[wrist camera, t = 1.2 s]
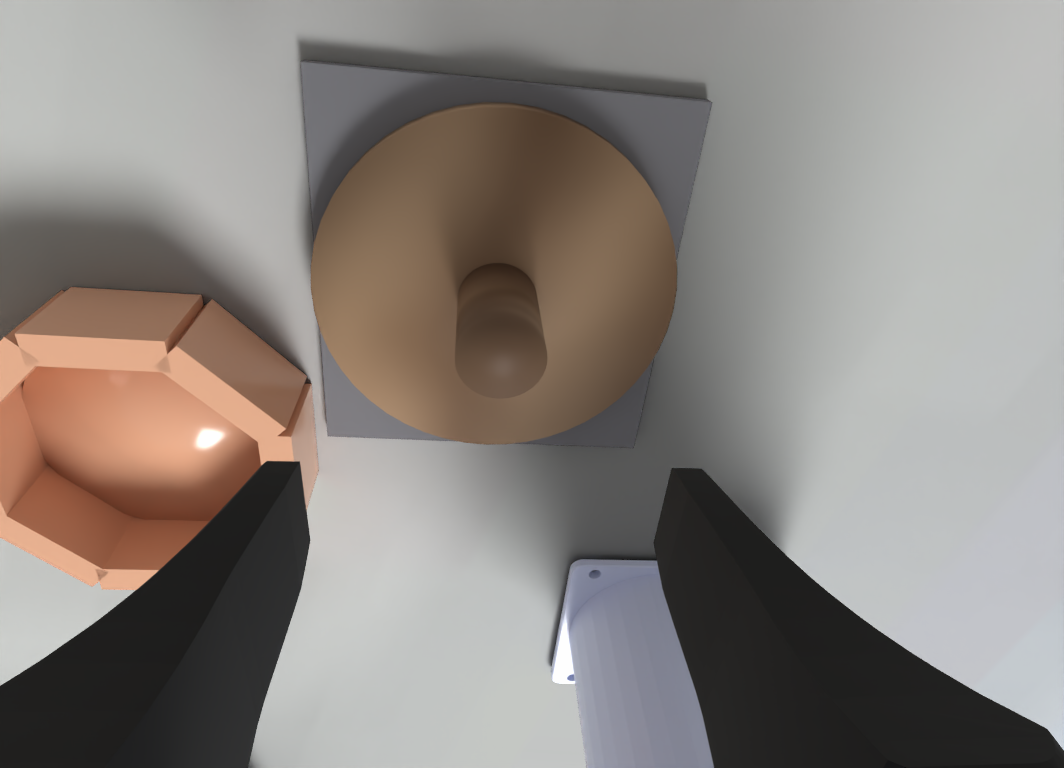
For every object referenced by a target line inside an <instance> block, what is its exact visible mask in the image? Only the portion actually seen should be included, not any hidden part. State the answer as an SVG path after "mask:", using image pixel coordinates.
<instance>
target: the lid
mask: <svg viewBox="0 0 1064 768" xmlns="http://www.w3.org/2000/svg"><path fill="white" fill-rule="evenodd" d="M676 291H677V263H676V255H675V246H674V242H673V239H672V235H671V231H670V228H669V224H668V222H667V219H666V217H665V215H664V212H663V210H662V208H661V205H660V203H659V201H658V200H657V198H656V197H655V195H654V193H653V192H652V190H651V188H650V187H649V185H648V184H647V182H646V181H645V179H644V178H643V177H642V175H641V174H640V173H639V172H638V171H637V169H636V168H635V167H634V166H633V165H632V163H631V162H630V161H629V160H628V159H627V157H626V156H625V155H624V154H622V153H621V152H620V151H619V150H618V149H617V148H616V147H615V146H613V145H612V144H611V143H610V142H609V141H608V140H607V139H605V138H604V137H602V136H601V135H599V134H597V133H596V132H594V131H593V130H591V129H590V128H588V127H587V126H585V125H583V124H581V123H579V122H577V121H575V120H573V119H570V118H568V117H566V116H564V115H562V114H558V113H555V112H552V111H549V110H546V109H542V108H539V107H534V106H528V105H522V104H516V103H501V102H482V103H473V104H464V105H457V106H453V107H450V108H446V109H442V110H438V111H434V112H431V113H429V114H426V115H424V116H422V117H419V118H417V119H415V120H412V121H410V122H408V123H406V124H404V125H403V126H401V127H399V128H398V129H396V130H394V131H393V132H391V133H389V134H388V135H386V136H385V137H384V138H382V139H381V140H380V141H379V142H378V143H376V144H375V145H374V146H373V147H371V148H370V149H369V150H368V151H367V152H366V153H365V154H364V155H363V156H362V157H361V158H360V159H359V160H358V161H357V162H356V164H355V165H354V166H353V167H352V168H351V169H350V170H349V172H348V173H347V175H346V176H345V178H344V179H343V181H342V182H341V184H340V185H339V187H338V188H337V190H336V191H335V193H334V195H333V196H332V198H331V200H330V202H329V204H328V206H327V209H326V211H325V213H324V215H323V217H322V219H321V222H320V225H319V228H318V232H317V235H316V238H315V242H314V247H313V254H312V261H311V292H312V299H313V305H314V311H315V315H316V318H317V321H318V325H319V328H320V331H321V334H322V336H323V338H324V340H325V342H326V345H327V347H328V349H329V351H330V353H331V354H332V356H333V358H334V359H335V361H336V362H337V364H338V366H339V367H340V369H341V370H342V371H343V373H344V374H345V375H346V376H347V377H348V379H349V380H350V381H351V382H352V383H353V385H354V386H355V387H356V388H357V389H358V390H359V391H360V392H361V393H362V394H364V395H365V396H366V397H367V398H368V399H369V400H370V401H371V402H373V403H374V404H375V405H377V406H378V407H379V408H381V409H382V410H383V411H385V412H386V413H387V414H389V415H391V416H393V417H394V418H396V419H398V420H400V421H401V422H403V423H405V424H407V425H409V426H411V427H414V428H416V429H418V430H421V431H423V432H425V433H429V434H432V435H435V436H438V437H441V438H445V439H450V440H455V441H460V442H465V443H476V444H512V443H520V442H528V441H532V440H537V439H541V438H545V437H549V436H552V435H555V434H558V433H561V432H564V431H567V430H569V429H571V428H573V427H575V426H577V425H580V424H582V423H584V422H586V421H588V420H589V419H591V418H592V417H594V416H596V415H597V414H599V413H601V412H602V411H604V410H605V409H606V408H608V407H609V406H610V405H612V404H613V403H614V402H616V401H617V400H618V399H619V398H620V397H621V396H623V395H624V394H625V393H626V392H627V391H628V390H629V389H630V388H631V387H632V386H633V385H634V384H635V383H636V381H637V380H638V379H639V378H640V376H641V375H642V374H643V373H644V371H645V370H646V369H647V368H648V366H649V364H650V363H651V361H652V360H653V358H654V356H655V355H656V353H657V351H658V350H659V348H660V345H661V343H662V341H663V339H664V337H665V334H666V332H667V329H668V326H669V323H670V320H671V316H672V313H673V309H674V303H675V297H676Z"/></svg>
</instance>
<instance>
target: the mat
mask: <svg viewBox="0 0 1064 768" xmlns="http://www.w3.org/2000/svg"><path fill="white" fill-rule="evenodd" d="M301 76H302V90H303V104H304V118H305V131H306V145H307V159H308V173H309V186H310V200H311V214H312V228H313V241H314V242H315V238H316V235H317V232H318V228H319V225H320V222H321V219H322V217H323V215H324V213H325V211H326V209H327V206H328V204H329V202H330V200H331V198H332V196H333V195H334V193H335V191H336V190H337V188H338V187H339V185H340V184H341V182H342V181H343V179H344V178H345V176H346V175H347V173H348V172H349V170H350V169H351V168H352V167H353V166H354V165H355V164H356V162H357V161H358V160H359V159H360V158H361V157H362V156H363V155H364V154H365V153H366V152H367V151H368V150H369V149H370V148H371V147H373V146H374V145H375V144H376V143H378V142H379V141H380V140H381V139H382V138H384V137H385V136H386V135H388V134H389V133H391V132H393V131H394V130H396V129H398V128H399V127H401V126H403V125H404V124H406V123H408V122H410V121H412V120H415V119H417V118H419V117H422V116H424V115H426V114H429V113H431V112H434V111H438V110H442V109H446V108H450V107H453V106H457V105H464V104H473V103H482V102H501V103H516V104H522V105H528V106H534V107H539V108H542V109H546V110H549V111H552V112H555V113H558V114H562V115H564V116H566V117H568V118H570V119H573V120H575V121H577V122H579V123H581V124H583V125H585V126H587V127H588V128H590V129H591V130H593V131H594V132H596V133H597V134H599V135H601V136H602V137H604V138H605V139H607V140H608V141H609V142H610V143H611V144H612V145H613V146H615V147H616V148H617V149H618V150H619V151H620V152H621V153H622V154H624V155H625V156H626V157H627V159H628V160H629V161H630V162H631V163H632V165H633V166H634V167H635V168H636V169H637V171H638V172H639V173H640V174H641V175H642V177H643V178H644V179H645V181H646V182H647V184H648V185H649V187H650V188H651V190H652V192H653V193H654V195H655V197H656V198H657V200H658V201H659V203H660V205H661V208H662V210H663V212H664V215H665V217H666V219H667V222H668V224H669V228H670V231H671V235H672V239H673V242H674V246H675V255H676V260H677V255H678V251H679V247H680V242H681V238H682V233H683V229H684V225H685V220H686V216H687V211H688V207H689V203H690V198H691V194H692V189H693V185H694V181H695V176H696V172H697V167H698V163H699V159H700V154H701V150H702V145H703V141H704V137H705V132H706V128H707V123H708V119H709V115H710V110H711V106H712V102H711V101H709V100H705V99H695V98H685V97H675V96H665V95H655V94H645V93H635V92H625V91H615V90H604V89H594V88H584V87H574V86H564V85H554V84H544V83H534V82H524V81H513V80H503V79H493V78H483V77H473V76H463V75H453V74H443V73H433V72H423V71H412V70H402V69H392V68H382V67H372V66H362V65H352V64H342V63H332V62H322V61H311V60H303V61H301ZM320 338H321V352H322V365H323V379H324V393H325V407H326V420H327V434H328V436H334V437H360V438H386V439H412V440H438V441H455V440H450V439H445V438H441V437H438V436H435V435H432V434H429V433H425V432H423V431H421V430H418V429H416V428H414V427H411V426H409V425H407V424H405V423H403V422H401V421H400V420H398V419H396V418H394V417H393V416H391V415H389V414H387V413H386V412H385V411H383V410H382V409H381V408H379V407H378V406H377V405H375V404H374V403H373V402H371V401H370V400H369V399H368V398H367V397H366V396H365V395H364V394H362V393H361V392H360V391H359V390H358V389H357V388H356V387H355V386H354V385H353V383H352V382H351V381H350V380H349V379H348V377H347V376H346V375H345V374H344V373H343V371H342V370H341V369H340V367H339V366H338V364H337V362H336V361H335V359H334V358H333V356H332V354H331V353H330V351H329V349H328V347H327V345H326V342H325V340H324V338H323V336H322V334H321V331H320ZM654 357H655V356H654ZM653 361H654V358H653V360H652V361H651V363H650V364H649V366H648V368H647V369H646V370H645V371H644V373H643V374H642V375H641V376H640V378H639V379H638V380H637V381H636V383H635V384H634V385H633V386H632V387H631V388H630V389H629V390H628V391H627V392H626V393H625V394H624V395H623V396H621V397H620V398H619V399H618V400H617V401H616V402H614V403H613V404H612V405H610V406H609V407H608V408H606V409H605V410H604V411H602V412H601V413H599V414H597V415H596V416H594V417H592V418H591V419H589V420H588V421H586V422H584V423H582V424H580V425H577V426H575V427H573V428H571V429H569V430H567V431H564V432H561V433H558V434H555V435H552V436H549V437H545V438H541V439H537V440H532V441H528V442H520V443H516V444H542V445H568V446H594V447H620V448H634V445H635V440H636V436H637V432H638V427H639V423H640V418H641V414H642V410H643V405H644V401H645V396H646V392H647V388H648V383H649V379H650V374H651V370H652V366H653Z"/></svg>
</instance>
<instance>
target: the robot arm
mask: <svg viewBox="0 0 1064 768" xmlns="http://www.w3.org/2000/svg"><path fill="white" fill-rule="evenodd" d="M309 544H310V535H309V527H308V519H307V512H306V504H305V496H304V488H303V481H302V473H301V465H300V461H266V462H265V463H264V464H263V465H261V466H260V468H259V469H258V470H257V471H256V472H255V473H254V474H253V475H252V476H251V477H250V479H249V480H248V481H247V482H246V483H245V484H244V485H243V486H242V487H241V489H240V490H239V491H238V492H237V493H236V494H235V495H234V496H233V497H232V498H231V499H230V501H229V502H228V503H227V504H226V505H225V506H224V507H223V508H222V509H221V510H220V511H219V512H218V513H217V514H216V515H215V516H214V517H213V518H212V519H211V520H210V521H209V522H208V523H207V524H206V526H205V527H204V528H203V529H202V530H201V531H200V532H199V533H198V534H197V535H196V536H195V537H194V538H193V539H192V540H191V541H190V542H189V543H188V544H187V545H186V546H184V547H183V548H182V549H181V550H180V551H179V552H178V553H177V554H176V555H175V556H174V557H173V558H171V559H170V560H169V561H168V562H167V563H166V564H165V565H164V566H163V567H162V568H161V569H160V570H159V571H157V572H156V573H155V574H154V575H153V576H152V577H151V578H150V579H148V580H147V581H146V582H145V583H144V584H143V585H141V586H140V587H139V588H138V589H137V590H136V591H134V592H133V593H132V594H131V595H130V596H128V597H127V598H126V599H125V600H123V601H122V602H121V603H120V604H118V605H117V606H116V607H115V608H113V609H112V610H111V611H110V612H108V613H107V614H106V615H104V616H103V617H102V618H101V619H99V620H98V621H96V622H95V623H94V624H92V625H91V626H90V627H88V628H87V629H85V630H84V631H82V632H81V633H80V634H78V635H77V636H75V637H74V638H72V639H71V640H70V641H68V642H67V643H65V644H64V645H62V646H61V647H59V648H58V649H57V650H55V651H54V652H52V653H51V654H49V655H48V656H47V657H45V658H44V659H42V660H41V661H39V662H38V663H36V664H34V665H33V666H31V667H30V668H28V669H27V670H25V671H23V672H22V673H20V674H19V675H17V676H15V677H14V678H12V679H11V680H9V681H7V682H6V683H4V684H2V685H1V686H0V768H248V765H249V761H250V756H251V752H252V747H253V743H254V738H255V734H256V729H257V725H258V721H259V718H260V714H261V711H262V707H263V704H264V700H265V697H266V694H267V691H268V688H269V685H270V682H271V679H272V676H273V673H274V670H275V667H276V664H277V661H278V658H279V655H280V652H281V649H282V645H283V642H284V639H285V636H286V633H287V630H288V627H289V624H290V621H291V618H292V615H293V612H294V609H295V606H296V603H297V599H298V596H299V593H300V590H301V585H302V580H303V576H304V571H305V566H306V560H307V555H308V549H309ZM654 546H655V552H656V558H657V561H645V560H593V559H582V560H577V561H575V562H574V563H573V564H572V565H571V567H570V571H569V577H568V582H567V587H566V593H565V598H564V603H563V609H562V614H561V619H560V625H559V630H558V635H557V641H556V646H555V652H554V657H553V662H552V668H551V677H552V680H553V681H554V682H556V683H560V684H575V686H576V693H577V701H578V708H579V716H580V723H581V730H582V738H583V745H584V752H585V760H586V767H587V768H1064V750H1063V749H1062V748H1061V746H1060V745H1059V744H1058V742H1057V741H1056V740H1055V738H1054V737H1053V736H1052V735H1051V733H1050V732H1049V731H1048V729H1046V728H1044V727H1042V726H1040V725H1039V724H1037V723H1035V722H1033V721H1031V720H1029V719H1027V718H1025V717H1023V716H1021V715H1019V714H1017V713H1015V712H1014V711H1012V710H1010V709H1008V708H1006V707H1004V706H1002V705H1000V704H998V703H996V702H994V701H992V700H990V699H988V698H987V697H985V696H983V695H981V694H979V693H977V692H975V691H974V690H972V689H970V688H969V687H967V686H965V685H963V684H962V683H960V682H958V681H957V680H955V679H953V678H951V677H950V676H948V675H946V674H945V673H943V672H941V671H940V670H938V669H936V668H935V667H933V666H931V665H930V664H928V663H927V662H925V661H923V660H922V659H920V658H919V657H917V656H915V655H914V654H912V653H911V652H909V651H908V650H906V649H905V648H903V647H902V646H900V645H899V644H897V643H896V642H895V641H893V640H892V639H890V638H889V637H887V636H886V635H884V634H883V633H881V632H880V631H878V630H877V629H876V628H874V627H873V626H871V625H870V624H869V623H867V622H866V621H864V620H863V619H862V618H860V617H859V616H858V615H856V614H855V613H854V612H853V611H851V610H850V609H849V608H847V607H846V606H845V605H844V604H842V603H841V602H840V601H839V600H837V599H836V598H835V597H833V596H832V595H831V594H830V593H828V592H827V591H826V590H825V589H824V588H822V587H821V586H820V585H819V584H818V583H816V582H815V581H814V580H813V579H812V578H811V577H810V576H808V575H807V574H806V573H805V572H804V571H803V570H802V569H801V568H800V567H798V566H797V565H796V564H795V563H794V562H793V561H792V560H791V559H789V558H788V557H787V556H786V555H785V554H784V553H783V552H782V551H781V550H780V549H779V548H778V547H777V546H776V545H775V544H774V543H773V542H772V541H771V540H770V539H769V538H768V537H767V536H766V535H765V534H764V533H763V532H762V531H761V530H760V529H759V528H758V527H757V526H756V525H755V524H754V523H753V522H752V521H751V520H750V519H749V518H748V517H747V516H746V515H745V514H744V513H743V512H742V511H741V510H740V509H739V508H738V507H737V506H736V504H735V503H734V502H733V501H732V500H731V499H730V498H729V497H728V496H727V495H726V494H725V493H724V492H723V491H722V490H721V488H720V487H719V486H718V485H717V484H716V483H715V482H714V481H713V480H712V479H711V478H710V477H709V476H708V475H707V474H706V473H705V472H704V471H703V470H702V469H692V468H672V470H671V474H670V478H669V482H668V486H667V490H666V494H665V498H664V503H663V507H662V511H661V515H660V519H659V523H658V527H657V531H656V535H655V539H654ZM592 570H597V571H593V572H592Z"/></svg>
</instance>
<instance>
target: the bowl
mask: <svg viewBox="0 0 1064 768" xmlns="http://www.w3.org/2000/svg"><path fill="white" fill-rule="evenodd" d="M306 378H307V376H306V375H305V374H304V373H302V372H301V371H300V370H299V369H298V368H296V367H295V366H294V365H293V364H291V363H290V362H289V361H288V360H287V359H285V358H284V357H283V356H282V355H280V354H279V353H278V352H277V351H275V350H274V349H273V348H272V347H271V346H269V345H268V344H267V343H266V342H264V341H263V340H262V339H261V338H259V337H258V336H257V335H256V334H255V333H253V332H252V331H251V330H250V329H248V328H247V327H246V326H245V325H243V324H242V323H241V322H240V321H239V320H237V319H236V318H235V317H234V316H232V315H231V314H230V313H229V312H228V311H226V310H225V309H224V308H223V307H221V306H220V305H219V304H218V303H216V302H215V301H214V300H213V299H211V300H210V301H209V302H208V303H207V304H206V305H205V306H204V305H203V300H202V295H196V294H180V293H163V292H147V291H130V290H113V289H97V288H80V287H70V288H69V289H68V290H67V291H65V292H64V291H62V290H61V291H60V292H59V293H57V294H56V295H55V296H54V297H52V298H51V299H50V300H49V301H48V302H46V303H45V304H44V305H43V306H41V307H40V308H39V309H38V310H37V311H35V312H34V313H33V314H32V315H30V316H29V317H28V318H27V319H25V320H24V321H23V322H22V323H21V324H19V325H18V326H17V327H16V328H14V329H13V330H12V331H11V332H10V333H8V334H7V335H6V336H5V337H4V338H3V339H2V340H1V341H0V538H2V539H4V540H6V541H7V542H9V543H11V544H13V545H15V546H17V547H19V548H21V549H22V550H24V551H26V552H28V553H30V554H32V555H34V556H36V557H37V558H39V559H41V560H43V561H45V562H47V563H49V564H50V565H52V566H54V567H56V568H58V569H60V570H62V571H64V572H65V573H67V574H69V575H71V576H73V577H75V578H77V579H79V580H80V581H82V582H84V583H86V584H88V585H90V586H92V587H93V586H94V585H95V584H96V583H98V582H100V585H101V588H102V589H113V590H137V589H138V588H139V587H140V586H141V585H143V584H144V583H145V582H146V581H147V580H148V579H150V578H151V577H152V576H153V575H154V574H155V573H156V572H157V571H159V570H160V569H161V568H162V567H163V566H164V565H165V564H166V563H167V562H168V561H169V560H170V559H171V558H173V557H174V556H175V555H176V554H177V553H178V552H179V551H180V550H181V549H182V548H183V547H184V546H186V545H187V544H188V543H189V542H190V541H191V540H192V539H193V538H194V537H195V536H196V535H197V534H198V533H199V532H200V531H201V530H202V529H203V528H204V527H205V526H206V524H207V523H208V522H209V521H210V520H211V519H212V518H213V517H214V516H215V515H216V514H217V513H218V512H219V511H220V510H221V509H222V508H223V507H224V506H225V505H226V504H227V503H228V502H229V501H230V499H231V498H232V497H233V496H234V495H235V494H236V493H237V492H238V491H239V490H240V489H241V487H242V486H243V485H244V484H245V483H246V482H247V481H248V480H249V479H250V477H251V476H252V475H253V474H254V473H255V472H256V471H257V470H258V469H259V468H260V466H261V465H263V464H264V463H265V462H266V461H300V465H301V473H302V481H303V488H304V496H305V504H306V511H307V508H308V504H309V501H310V498H311V494H312V491H313V488H314V485H315V481H316V478H317V475H318V471H319V467H318V456H317V444H316V432H315V420H314V408H313V396H312V384H306V383H305V380H306Z"/></svg>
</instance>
